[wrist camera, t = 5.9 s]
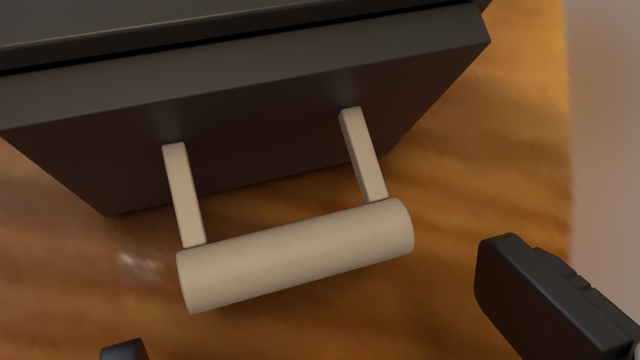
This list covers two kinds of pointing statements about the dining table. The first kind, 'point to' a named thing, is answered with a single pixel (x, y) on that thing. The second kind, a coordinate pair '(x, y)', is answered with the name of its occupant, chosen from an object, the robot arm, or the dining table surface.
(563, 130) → the dining table surface
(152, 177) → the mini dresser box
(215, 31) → the dark drawer cabinet
